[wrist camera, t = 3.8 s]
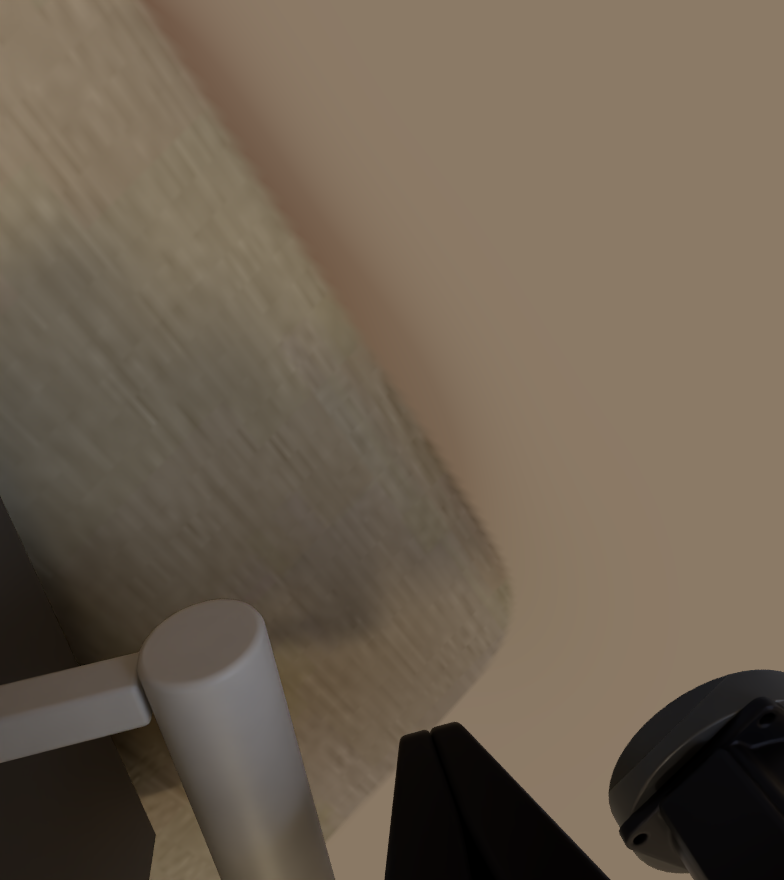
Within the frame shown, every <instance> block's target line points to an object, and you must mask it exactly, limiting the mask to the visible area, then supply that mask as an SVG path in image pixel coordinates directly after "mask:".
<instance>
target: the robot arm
mask: <svg viewBox="0 0 784 880" xmlns="http://www.w3.org/2000/svg"><path fill="white" fill-rule="evenodd" d="M619 832H620V836H621V837H622V839H623V841H624V843H625V845H626V846H627V847H628V848H629V849H631V850H633V851H636V852H639V853H642V854H644V855H647V856H650V857H652V858H655V859H658V860H661V861H663V862H666V863H669V864H671V865H674V866H677V867H680V868H682V869H685V870H688V871H689V873H690V874H691V876H692V878H693V879H694V880H784V707H783V706H782V705H780V704H779V703H777V702H775V701H774V700H772V699H771V698H769V697H765V696H763V697H758V698H756V699H753V700H752V701H751V702H749V703H748V704H747V705H746V706H745V707H744V708H743V709H742V710H741V711H740V712H739V713H738V714H737V715H736V716H735V717H733V718H732V719H731V720H730V721H729V722H728V723H727V724H726V725H725V726H724V727H723V728H722V729H721V730H720V731H719V732H718V733H717V734H716V735H715V736H714V737H713V738H712V739H711V740H710V741H708V742H707V743H706V744H705V745H704V746H703V747H702V748H701V749H700V750H699V751H698V752H697V753H696V754H695V755H694V756H693V757H692V758H691V759H690V760H689V761H688V762H687V763H686V764H684V765H683V766H682V767H681V768H680V769H679V770H678V771H677V772H676V773H675V774H674V775H673V776H672V777H671V778H670V779H669V780H668V781H667V782H666V783H665V784H664V785H663V786H662V787H661V788H659V789H658V790H657V791H656V792H655V793H654V794H653V795H652V796H651V797H650V798H649V799H648V800H647V801H646V802H645V803H644V804H643V805H642V806H641V807H640V808H639V809H638V810H637V811H635V812H634V813H633V814H632V815H631V816H630V817H629V818H628V819H627V820H626V821H625V822H624V823H623V824H622V826H621V827H620V830H619ZM385 880H610V879H609V878H608V877H607V876H606V875H605V874H604V873H603V872H602V870H601V869H600V868H598V866H597V865H596V864H595V863H594V862H593V861H592V860H591V859H590V858H589V857H588V856H587V855H586V854H585V853H584V852H583V851H582V850H581V849H580V848H579V847H578V845H577V844H576V843H575V842H574V841H573V840H572V839H571V838H570V837H569V836H568V835H567V834H566V833H565V832H564V831H563V830H562V829H561V828H560V827H559V826H558V825H557V823H556V822H555V821H554V820H553V819H551V817H550V816H549V815H548V814H547V813H546V812H545V811H544V810H543V809H542V808H541V807H540V806H539V805H538V804H537V803H536V802H535V801H534V800H533V798H531V796H530V795H529V794H528V793H527V792H526V791H525V790H524V789H523V788H522V787H521V786H520V785H519V784H518V783H517V782H516V781H515V780H514V779H513V778H512V777H511V776H510V775H509V773H508V772H506V770H505V769H504V768H503V767H502V766H501V765H500V764H499V763H498V762H497V761H496V760H495V759H494V758H493V757H492V756H491V755H490V754H489V753H488V752H487V751H486V749H484V748H483V746H482V745H480V743H479V742H478V741H477V740H476V739H475V738H474V737H473V736H472V735H471V734H470V733H469V732H468V731H467V730H466V729H465V728H464V727H463V726H462V725H461V724H460V723H458V722H452V723H448V724H444V725H441V726H437V727H434V728H432V730H431V732H430V733H429V732H428V731H426V730H422V731H418V732H415V733H411V734H407V735H404V736H402V738H401V739H400V743H399V751H398V761H397V770H396V779H395V788H394V797H393V806H392V816H391V825H390V834H389V844H388V852H387V861H386V870H385Z"/></svg>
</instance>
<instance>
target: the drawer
mask: <svg viewBox="0 0 784 880" xmlns="http://www.w3.org/2000/svg"><path fill="white" fill-rule="evenodd" d="M152 711H153V713H154V716H155V718H156V721H157V723H158V725H159V728H160V730H161V733H162V735H163V738H164V740H165V743H166V745H167V748H168V750H169V752H170V755H171V757H172V760H173V762H174V765H175V767H176V770H177V772H178V775H179V777H180V780H181V782H182V784H183V787H184V789H185V792H186V794H187V797H188V799H189V802H190V804H191V807H192V809H193V811H194V814H195V816H196V819H197V821H198V824H199V826H200V829H201V831H202V834H203V836H204V838H205V841H206V843H207V846H208V848H209V851H210V853H211V856H212V858H213V861H214V863H215V865H216V868H217V870H218V873H219V875H220V878H221V880H335V878H334V874H333V870H332V867H331V863H330V860H329V856H328V852H327V848H326V845H325V841H324V837H323V834H322V830H321V826H320V823H319V819H318V815H317V812H316V808H315V804H314V801H313V797H312V793H311V790H310V786H309V782H308V779H307V775H306V771H305V768H304V764H303V760H302V757H301V753H300V749H299V746H298V742H297V738H296V735H295V731H294V727H293V724H292V720H291V717H290V713H289V709H288V706H287V702H286V698H285V695H284V691H283V687H282V684H281V680H280V676H279V673H278V669H277V665H276V662H275V658H274V654H273V651H272V647H271V643H270V640H269V636H268V632H267V629H266V625H265V622H264V619H263V617H262V616H261V614H260V613H259V612H258V611H257V610H256V609H255V608H254V607H252V606H251V605H250V604H248V603H245V602H243V601H240V600H235V599H214V600H208V601H204V602H200V603H197V604H194V605H191V606H189V607H186V608H184V609H182V610H180V611H178V612H176V613H174V614H173V615H171V616H170V617H168V618H167V619H165V620H164V621H163V622H161V623H160V624H159V625H158V626H157V627H156V628H155V629H154V630H153V631H152V632H151V633H150V634H149V635H148V637H147V638H146V640H145V641H144V643H143V645H142V647H141V649H140V652H137V653H133V654H128V655H124V656H120V657H116V658H112V659H108V660H103V661H99V662H95V663H91V664H87V665H82V666H78V664H77V662H76V660H75V658H74V656H73V654H72V651H71V649H70V647H69V645H68V643H67V640H66V638H65V636H64V634H63V632H62V630H61V627H60V625H59V623H58V621H57V619H56V617H55V614H54V612H53V610H52V608H51V606H50V604H49V601H48V599H47V597H46V595H45V593H44V590H43V588H42V586H41V584H40V582H39V580H38V577H37V575H36V573H35V571H34V569H33V567H32V564H31V562H30V560H29V558H28V556H27V554H26V551H25V549H24V547H23V545H22V543H21V540H20V538H19V536H18V534H17V532H16V530H15V527H14V525H13V523H12V521H11V519H10V517H9V514H8V512H7V510H6V508H5V506H4V504H3V501H2V499H1V497H0V880H149V877H150V870H151V863H152V856H153V850H154V843H155V836H156V834H155V832H154V830H153V827H152V825H151V823H150V821H149V819H148V817H147V814H146V812H145V810H144V808H143V806H142V804H141V801H140V799H139V797H138V795H137V793H136V790H135V788H134V786H133V784H132V782H131V780H130V777H129V775H128V773H127V771H126V769H125V767H124V764H123V762H122V760H121V758H120V756H119V754H118V751H117V749H116V747H115V745H114V743H113V740H112V738H111V736H110V735H112V734H116V733H120V732H123V731H127V730H131V729H135V728H139V727H143V726H146V725H147V724H149V723H150V721H151V717H152Z"/></svg>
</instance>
